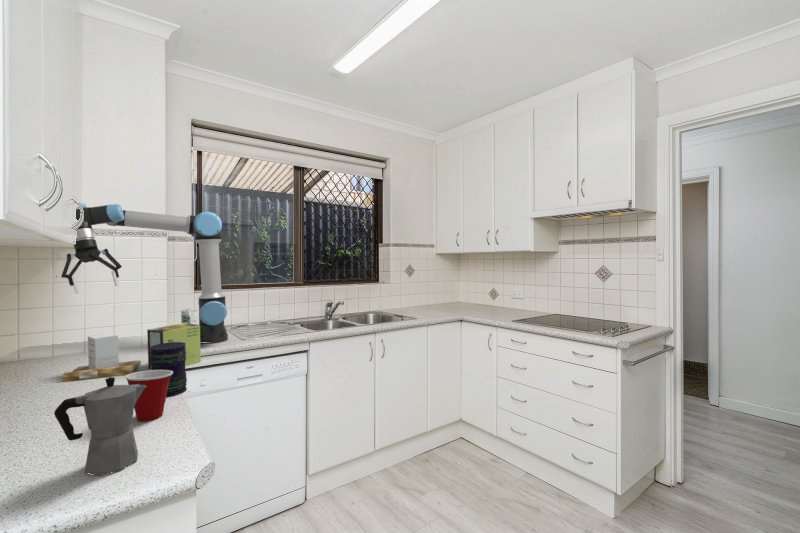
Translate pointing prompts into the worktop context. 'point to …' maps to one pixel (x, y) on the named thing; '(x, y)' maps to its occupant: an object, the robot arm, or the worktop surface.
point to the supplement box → (103, 351)
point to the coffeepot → (105, 425)
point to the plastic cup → (150, 393)
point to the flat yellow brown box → (101, 371)
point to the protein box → (177, 340)
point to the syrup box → (189, 316)
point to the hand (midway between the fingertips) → (97, 289)
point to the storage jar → (171, 364)
